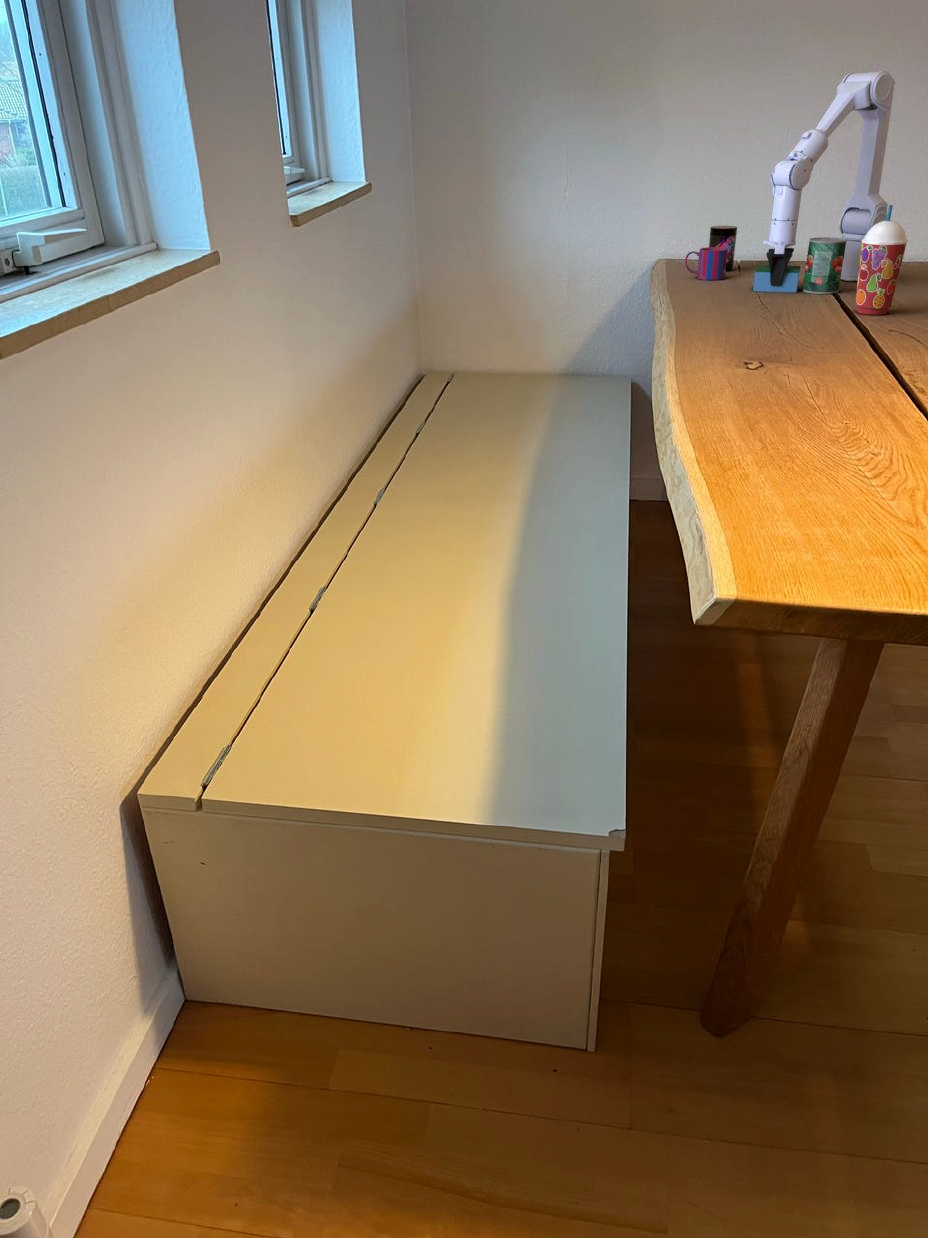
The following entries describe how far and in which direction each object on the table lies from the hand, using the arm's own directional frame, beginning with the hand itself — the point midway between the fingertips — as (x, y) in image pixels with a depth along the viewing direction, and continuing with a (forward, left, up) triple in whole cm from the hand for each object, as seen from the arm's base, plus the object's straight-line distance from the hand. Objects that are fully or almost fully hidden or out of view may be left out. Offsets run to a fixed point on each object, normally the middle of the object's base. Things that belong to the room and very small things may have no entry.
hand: (776, 283), depth 214 cm
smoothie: (-6, +31, -2) cm, 31 cm away
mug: (+8, -21, -2) cm, 23 cm away
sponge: (0, 0, -1) cm, 1 cm away
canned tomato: (-9, +5, -2) cm, 10 cm away
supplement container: (-1, -32, -2) cm, 32 cm away
